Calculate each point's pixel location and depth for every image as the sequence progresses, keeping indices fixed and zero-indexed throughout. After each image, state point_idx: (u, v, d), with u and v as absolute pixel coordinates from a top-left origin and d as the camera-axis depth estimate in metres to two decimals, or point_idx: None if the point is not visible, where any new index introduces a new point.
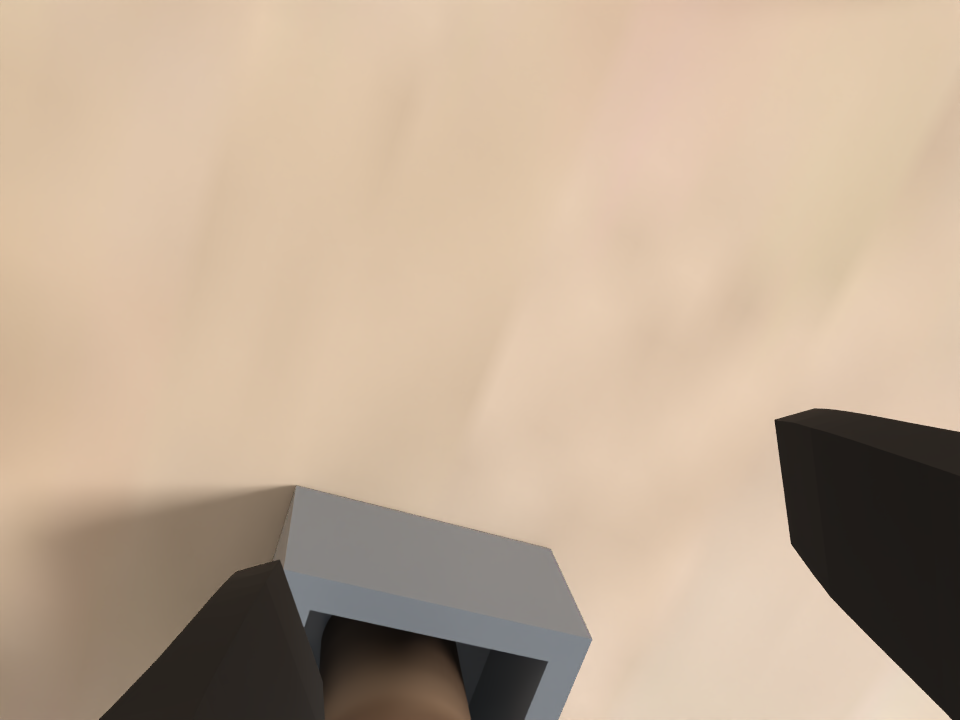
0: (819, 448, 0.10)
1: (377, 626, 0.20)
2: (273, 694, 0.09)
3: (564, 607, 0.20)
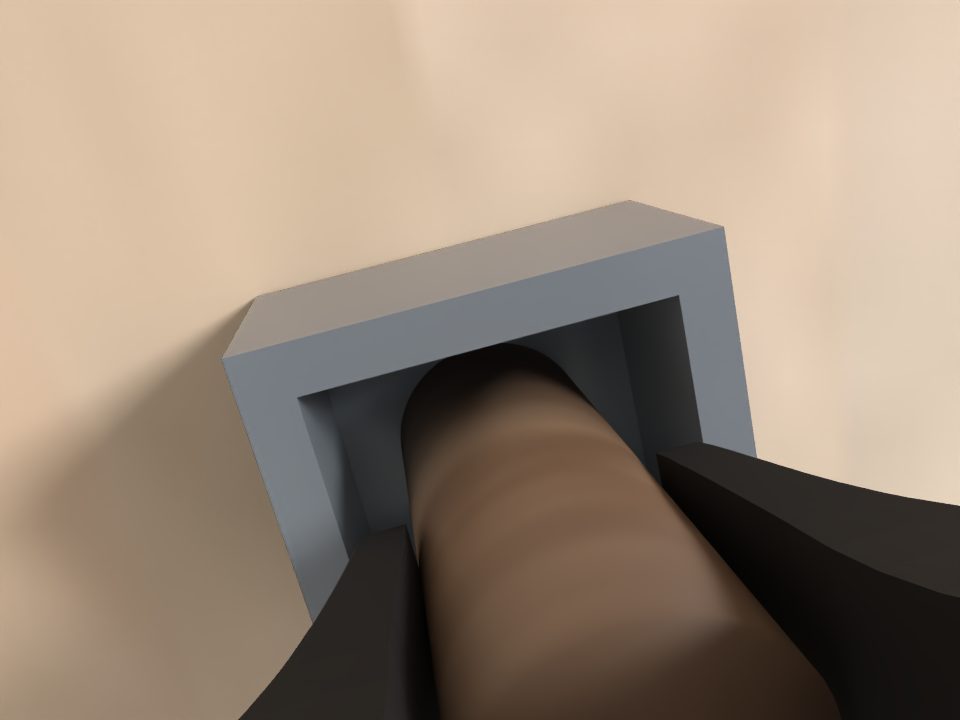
0: (689, 485, 0.10)
1: (440, 398, 0.14)
2: (421, 650, 0.09)
3: (668, 223, 0.13)
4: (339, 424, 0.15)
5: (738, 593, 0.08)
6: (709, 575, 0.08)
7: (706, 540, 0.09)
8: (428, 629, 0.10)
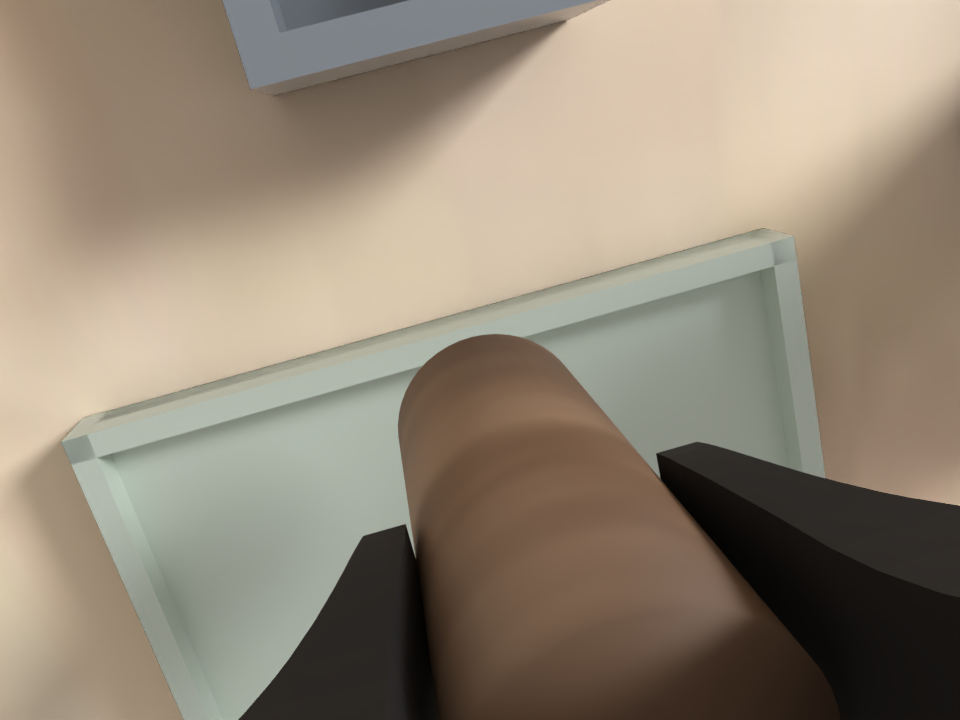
0: (689, 486, 0.10)
1: (439, 388, 0.14)
2: (421, 651, 0.09)
3: None
4: None
5: (738, 585, 0.08)
6: (709, 565, 0.08)
7: (705, 532, 0.09)
8: (425, 618, 0.10)
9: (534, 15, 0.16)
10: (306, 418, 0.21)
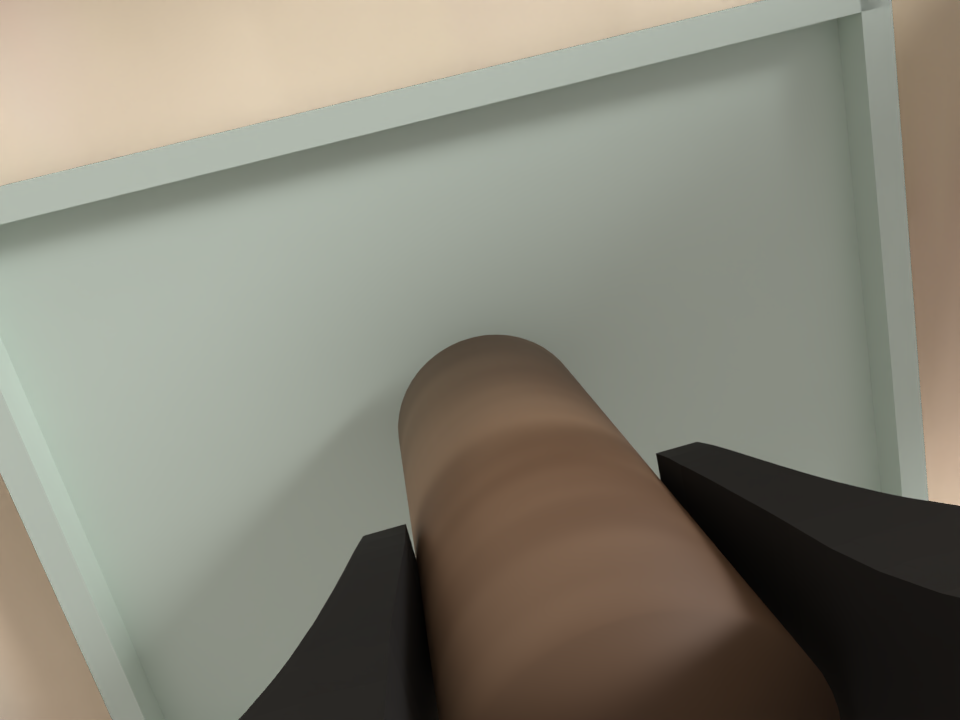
0: (688, 485, 0.10)
1: (439, 389, 0.14)
2: (421, 651, 0.09)
3: None
4: None
5: (739, 588, 0.08)
6: (710, 568, 0.08)
7: None
8: (426, 620, 0.10)
9: None
10: (231, 209, 0.15)
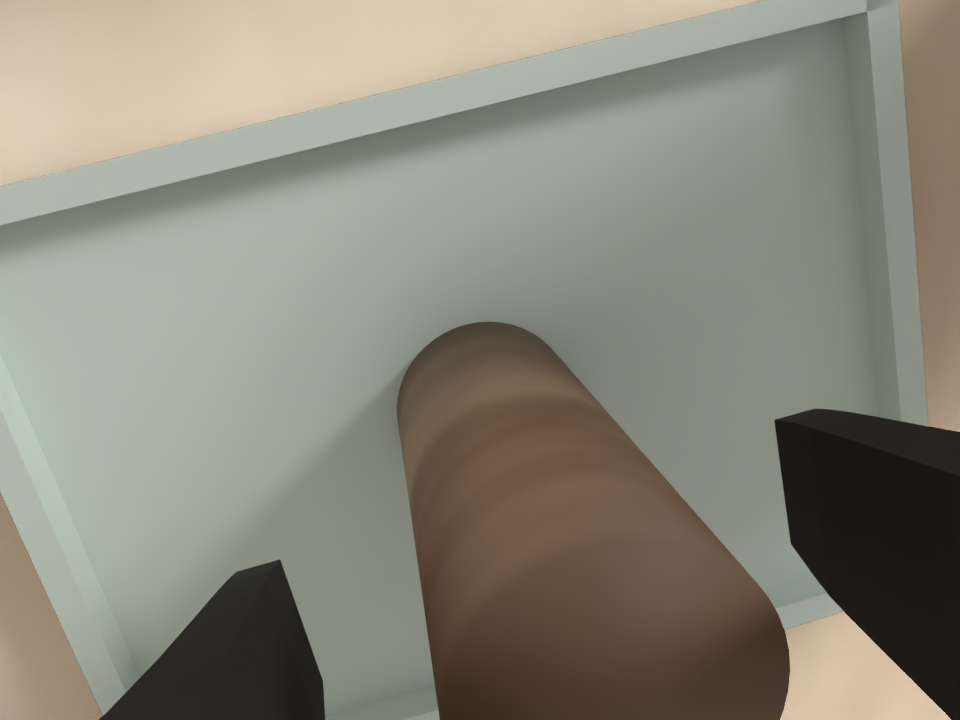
0: (819, 448, 0.10)
1: (435, 370, 0.15)
2: (273, 694, 0.09)
3: None
4: None
5: (697, 525, 0.09)
6: (670, 508, 0.09)
7: (673, 488, 0.10)
8: (419, 569, 0.11)
9: None
10: (228, 211, 0.15)
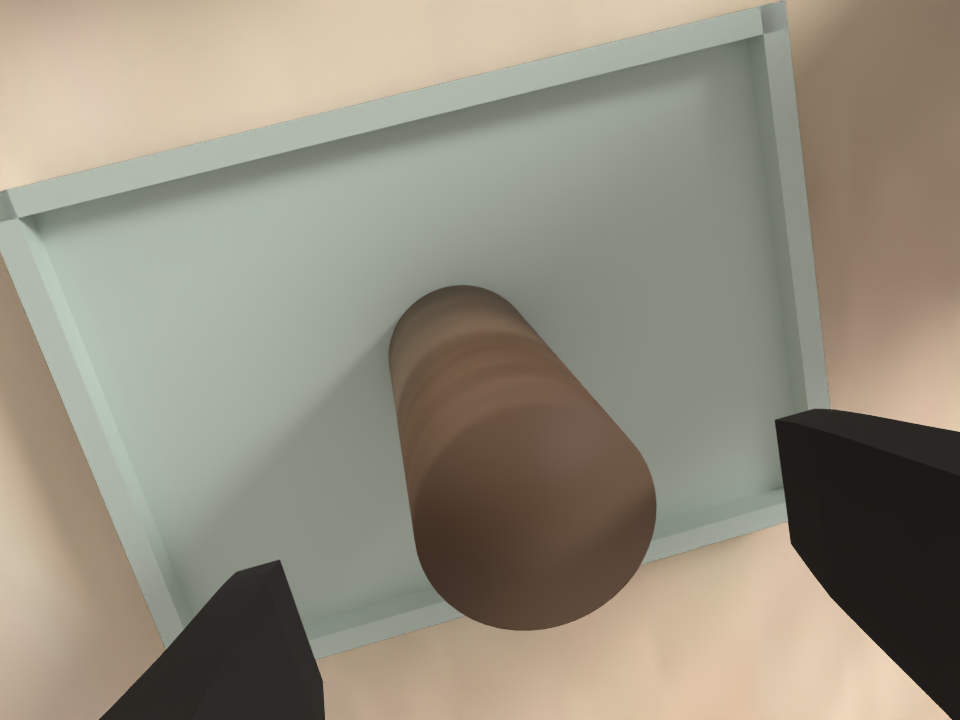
0: (819, 448, 0.10)
1: (418, 320, 0.18)
2: (273, 694, 0.09)
3: None
4: None
5: (593, 405, 0.12)
6: (576, 395, 0.12)
7: None
8: (403, 455, 0.14)
9: None
10: (252, 194, 0.19)
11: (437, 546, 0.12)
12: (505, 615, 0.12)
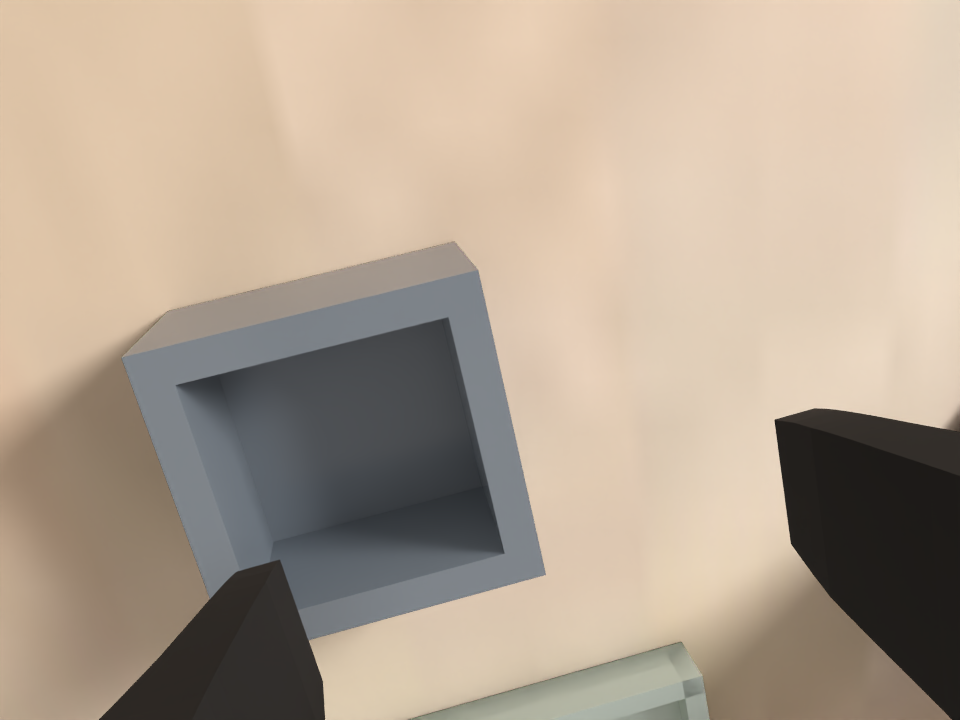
0: (819, 448, 0.10)
1: None
2: (273, 694, 0.09)
3: (452, 265, 0.18)
4: (230, 408, 0.20)
5: None
6: None
7: None
8: None
9: (470, 594, 0.19)
10: None
11: None
12: None
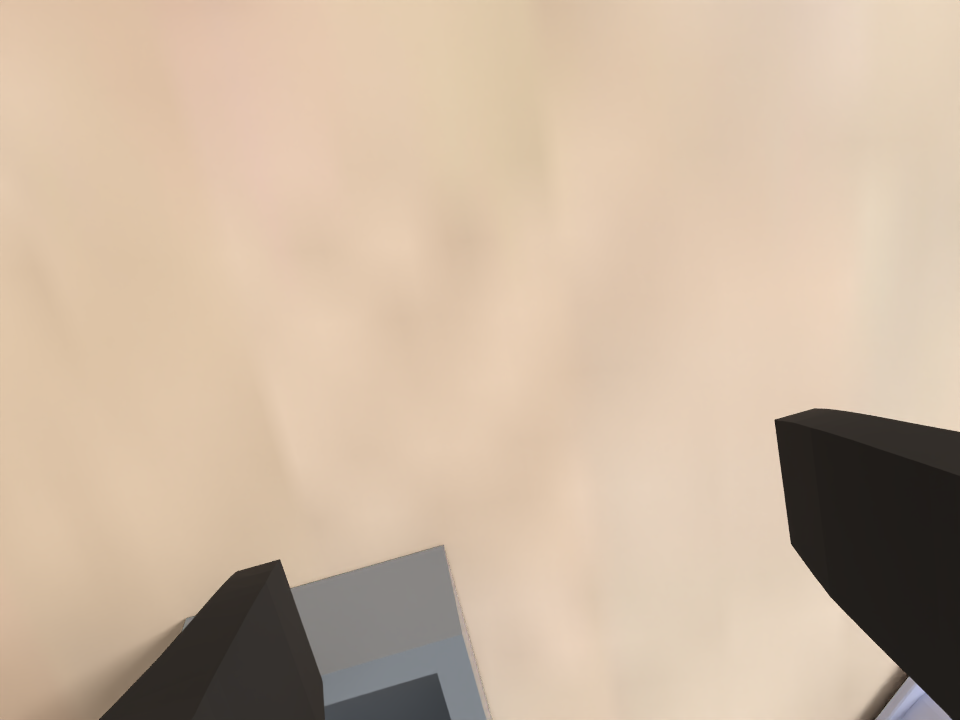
0: (819, 448, 0.10)
1: None
2: (273, 694, 0.09)
3: (440, 610, 0.20)
4: None
5: None
6: None
7: None
8: None
9: None
10: None
11: None
12: None
